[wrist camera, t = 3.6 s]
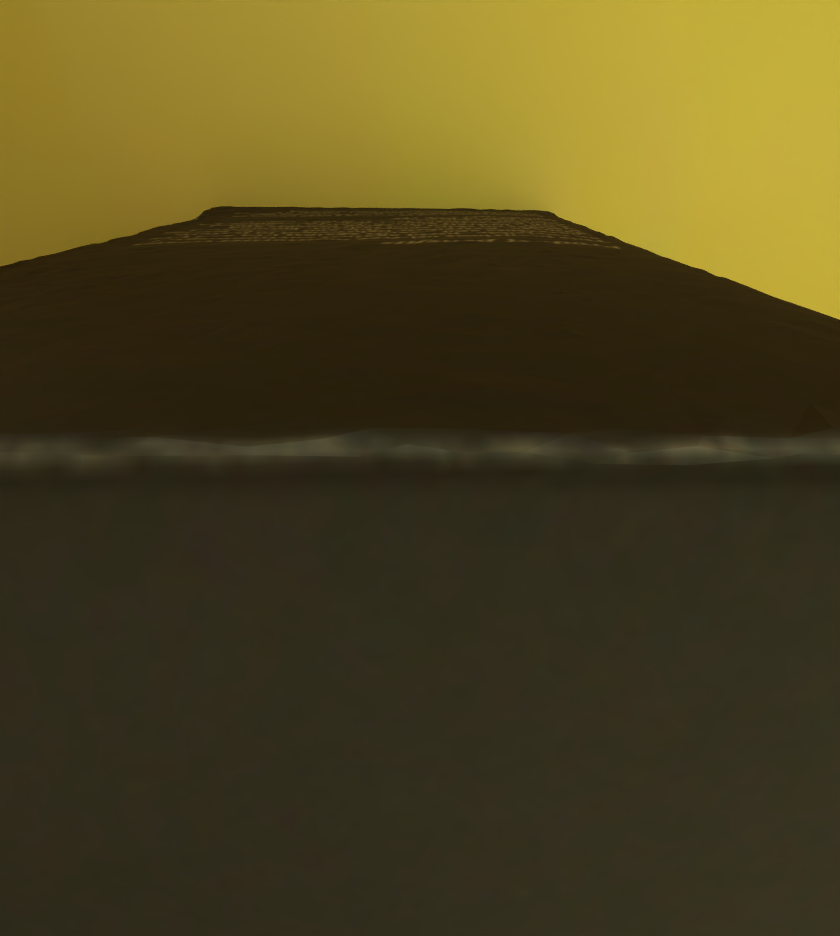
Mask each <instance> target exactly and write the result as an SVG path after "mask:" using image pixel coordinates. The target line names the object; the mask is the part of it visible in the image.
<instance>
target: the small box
mask: <svg viewBox="0 0 840 936" xmlns="http://www.w3.org/2000/svg"><path fill="white" fill-rule="evenodd" d="M0 936H840V320H839V319H836V318H833V317H830V316H827V315H824V314H822V313H819V312H816V311H813V310H810V309H807V308H804V307H801V306H798V305H796V304H793V303H790V302H787V301H784V300H781V299H778V298H775V297H772V296H770V295H767V294H765V293H762V292H760V291H758V290H755V289H753V288H750V287H748V286H745V285H743V284H740V283H737V282H735V281H732V280H729V279H727V278H724V277H718V276H715V275H713V274H711V273H709V272H707V271H705V270H702V269H698V268H694V267H690V266H688V265H685V264H682V263H680V262H677V261H674V260H671V259H669V258H665V257H662V256H659V255H657V254H655V253H652V252H650V251H648V250H645V249H642V248H639V247H636V246H634V245H631V244H628V243H625V242H623V241H621V240H619V239H617V238H615V237H613V236H607V235H604V234H602V233H601V232H597V231H594V230H591V229H589V228H587V227H585V226H582V225H578V224H575V223H572V222H570V221H567V220H564V219H562V218H559V217H558V216H556V215H555V214H554V213H551V212H547V211H536V210H522V211H515V210H493V209H487V210H477V209H465V208H456V209H419V208H343V207H342V208H302V207H231V206H221V207H215V208H211V209H209V210H206V211H204V212H203V213H202V214H201V215H200V216H199V217H197V218H196V219H193V220H191V221H186V222H182V223H175V224H173V225H166V226H159V227H156V228H152V229H150V230H146V231H143V232H140V233H138V234H136V235H132V236H127V237H121V238H116V239H111V240H109V241H107V242H104V243H99V244H90V245H86V246H81V247H77V248H74V249H71V250H67V251H63V252H60V253H56V254H51V255H46V256H41V257H37V258H34V259H31V260H23V261H19V262H16V263H13V264H10V265H5V266H0Z"/></svg>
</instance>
